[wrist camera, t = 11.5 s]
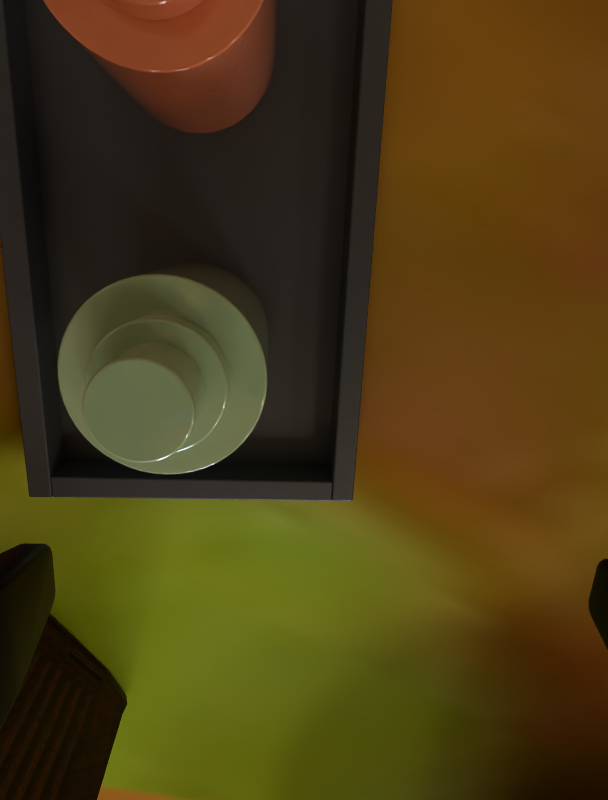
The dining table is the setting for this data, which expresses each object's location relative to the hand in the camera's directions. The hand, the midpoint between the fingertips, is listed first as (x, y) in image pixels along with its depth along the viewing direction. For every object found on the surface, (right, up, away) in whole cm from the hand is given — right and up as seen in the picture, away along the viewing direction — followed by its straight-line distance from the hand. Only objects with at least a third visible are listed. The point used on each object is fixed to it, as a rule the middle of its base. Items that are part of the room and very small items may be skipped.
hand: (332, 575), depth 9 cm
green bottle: (-4, +5, +10) cm, 12 cm away
